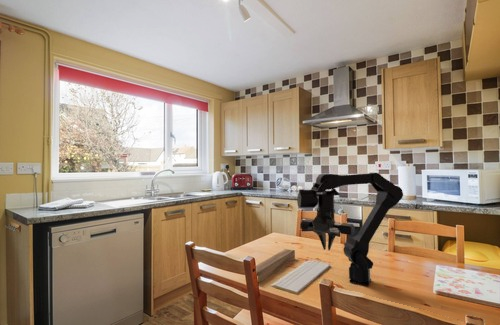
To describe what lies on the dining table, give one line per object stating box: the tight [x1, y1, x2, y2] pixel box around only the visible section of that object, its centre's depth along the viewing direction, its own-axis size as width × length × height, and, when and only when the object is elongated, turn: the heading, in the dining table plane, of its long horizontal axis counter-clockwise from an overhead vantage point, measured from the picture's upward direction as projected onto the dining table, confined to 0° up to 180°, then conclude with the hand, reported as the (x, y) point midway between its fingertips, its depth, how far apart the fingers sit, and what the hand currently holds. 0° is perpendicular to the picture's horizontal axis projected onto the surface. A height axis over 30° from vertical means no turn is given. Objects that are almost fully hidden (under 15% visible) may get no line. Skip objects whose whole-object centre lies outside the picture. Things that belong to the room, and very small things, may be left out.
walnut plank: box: [255, 248, 296, 284], centre depth 110 cm, size 5×32×4 cm, turn 146°
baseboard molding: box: [270, 257, 331, 295], centre depth 102 cm, size 31×3×12 cm
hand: (326, 249), depth 95 cm, fingers closed
